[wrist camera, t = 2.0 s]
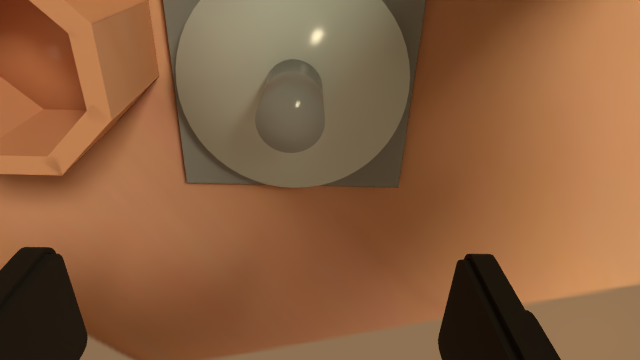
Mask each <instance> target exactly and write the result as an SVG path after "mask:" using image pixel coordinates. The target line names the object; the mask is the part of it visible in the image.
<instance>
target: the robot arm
mask: <svg viewBox="0 0 640 360" xmlns="http://www.w3.org/2000/svg"><path fill="white" fill-rule="evenodd" d="M86 344H87V332H86V329H85V325H84V322H83V319H82V316H81V313H80V310H79V307H78V304H77V301H76V297H75V294H74V291H73V288H72V285H71V282H70V279H69V276H68V273H67V269H66V266H65V263H64V260H63V258H62V256H61V255H60V254H56V252H55V250H53V249H52V248H49V247H24V248H21V249H20V250H19V251H18V252H17V253H16V254H15V255H14V256H13V257H12V258H11V259H10V260H9V261H8V263H7V264H6V265H5V266H4V267H3V268H2V269H1V270H0V360H79V359H80V357H81V356H82V354H83V352H84V350H85V347H86ZM438 344H439V351H440V354H441V358H442V360H561V359H560V358H559V356H558V354H557V353H556V351H555V349H554V347H553V346H552V344H551V343H550V341H549V339H548V338H547V336H546V334H545V332H544V331H543V329H542V327H541V326H540V324H539V322H538V321H537V319H536V318H535V316H534V315H533V314H532V313H531V312H529V311H528V310H525V309H524V307H523V305H522V304H521V302H520V300H519V298H518V297H517V295H516V293H515V291H514V290H513V288H512V286H511V285H510V283H509V281H508V279H507V278H506V276H505V274H504V273H503V271H502V269H501V267H500V266H499V264H498V262H497V261H496V259H495V257H494V256H493V255H491V254H467V255H466V256H465V258H464V260H459V261H458V262H457V265H456V269H455V273H454V277H453V281H452V285H451V289H450V293H449V297H448V301H447V305H446V309H445V313H444V317H443V321H442V325H441V329H440V333H439V338H438Z"/></svg>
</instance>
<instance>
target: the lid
mask: <svg viewBox="0 0 640 360" xmlns="http://www.w3.org/2000/svg"><path fill="white" fill-rule="evenodd" d="M176 85H177V90H178V95H179V100H180V103H181V106H182V109H183V112H184V114H185V116H186V118H187V120H188V122H189V125H190V127H191V128H192V130H193V131H194V133H195V134H196V136H197V137H198V139H199V140H200V141H201V142H202V144H203V145H204V146H205V147H206V148H207V150H208V151H209V152H211V153H212V154H213V155H214V156H215V157H216V158H217V159H218V160H219V161H221V162H222V163H223V164H225V165H226V166H227V167H229V168H230V169H232V170H234V171H235V172H237V173H239V174H241V175H243V176H245V177H247V178H250V179H252V180H254V181H258V182H261V183H264V184H268V185H273V186H278V187H289V188H304V187H313V186H319V185H323V184H327V183H331V182H334V181H336V180H339V179H341V178H344V177H346V176H348V175H350V174H352V173H354V172H355V171H357V170H359V169H360V168H361V167H363V166H364V165H366V164H367V163H368V162H370V161H371V160H372V159H373V158H374V157H375V156H376V155H377V154H378V153H379V152H380V151H381V150H382V149H383V148H384V146H385V145H386V144H387V143H388V141H389V140H390V138H391V137H392V135H393V134H394V133H395V131H396V129H397V127H398V125H399V123H400V121H401V118H402V116H403V113H404V110H405V107H406V103H407V98H408V94H409V85H410V66H409V58H408V53H407V47H406V44H405V41H404V38H403V35H402V32H401V30H400V28H399V26H398V24H397V22H396V20H395V18H394V16H393V15H392V13H391V12H390V10H389V9H388V8H387V6H386V5H385V3H384V2H383V1H382V0H200V1H199V2H198V4H197V5H196V6H195V8H194V9H193V11H192V13H191V14H190V16H189V18H188V20H187V22H186V24H185V26H184V29H183V32H182V34H181V37H180V41H179V45H178V50H177V56H176Z"/></svg>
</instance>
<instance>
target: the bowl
mask: <svg viewBox="0 0 640 360" xmlns="http://www.w3.org/2000/svg"><path fill="white" fill-rule="evenodd" d="M157 77H159V72H158V65H157V59H156V52H155V45H154V38H153V31H152V25H151V18H150V11H149V4H148V0H0V174H24V175H61V176H62V175H63V174H64V173H65V172H67V171H68V170H69V169H70V168H71V167H72V166H73V165H74V164H75V163H76V162H77V161H78V160H79V159H80V158H81V157H82V156H83V155H84V154H85V153H86V152H87V151H88V150H89V149H90V148H91V147H92V146H93V145H94V144H95V143H96V142H97V141H98V140H99V139H100V138H101V137H102V136H103V135H104V134H105V133H106V132H107V131H108V130H109V129H110V128H111V127H112V126H114V125H115V124H116V123H117V122H118V121H119V119H120V118H121V117H122V116H123V115H124V113H125V112H126V111H127V110H128V109H129V108H130V107H131V106H132V105H133V104H134V102H135V101H136V100H137V99H138V98H139V97H140V96H141V95H142V94H143V93H144V91H145V90H146V89H147V88H148V87H149V86H150V85H151V84H152V83H153V82H154V80H155V79H156V78H157Z"/></svg>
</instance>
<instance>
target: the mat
mask: <svg viewBox="0 0 640 360" xmlns="http://www.w3.org/2000/svg"><path fill="white" fill-rule="evenodd" d="M199 1H200V0H163V4H164V12H165V19H166V27H167V35H168V42H169V50H170V57H171V65H172V73H173V80H174V88H175V96H176V103H177V111H178V118H179V126H180V134H181V141H182V149H183V157H184V164H185V172H186V179H187V183H223V184H264V183H261V182H258V181H254V180H252V179H250V178H247V177H245V176H243V175H241V174H239V173H237V172H235V171H234V170H232V169H230V168H229V167H227V166H226V165H225V164H223V163H222V162H221V161H219V160H218V159H217V158H216V157H215V156H214V155H213V154H212V153H211V152H209V151H208V150H207V148H206V147H205V146H204V145H203V144H202V142H201V141H200V140H199V139H198V137H197V136H196V134H195V133H194V131H193V130H192V128H191V127H190V125H189V122H188V120H187V118H186V116H185V114H184V112H183V109H182V106H181V103H180V100H179V95H178V90H177V85H176V56H177V50H178V45H179V41H180V37H181V34H182V32H183V29H184V26H185V24H186V22H187V20H188V18H189V16H190V14H191V13H192V11H193V9H194V8H195V6H196V5H197V4H198V2H199ZM382 1H383V2H384V3H385V5H386V6H387V8H388V9H389V10H390V12H391V13H392V15H393V16H394V18H395V20H396V22H397V24H398V26H399V28H400V30H401V32H402V35H403V38H404V41H405V44H406V47H407V53H408V58H409V66H410V85H409V94H408V98H407V103H406V107H405V110H404V113H403V116H402V118H401V121H400V123H399V125H398V127H397V129H396V131H395V133H394V134H393V135H392V137H391V138H390V140H389V141H388V143H387V144H386V145H385V146H384V148H383V149H382V150H381V151H380V152H379V153H378V154H377V155H376V156H375V157H374V158H373V159H372V160H371V161H370V162H368V163H367V164H366V165H364V166H363V167H361V168H360V169H359V170H357V171H355V172H354V173H352V174H350V175H348V176H346V177H344V178H341V179H339V180H336V181H334V182H331V183H327V184H323V185H319V186H351V187H393V188H398V185H399V179H400V172H401V165H402V159H403V152H404V145H405V138H406V132H407V125H408V118H409V112H410V105H411V98H412V91H413V85H414V78H415V71H416V65H417V58H418V51H419V44H420V38H421V31H422V24H423V18H424V11H425V4H426V0H382ZM266 185H268V184H266Z"/></svg>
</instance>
